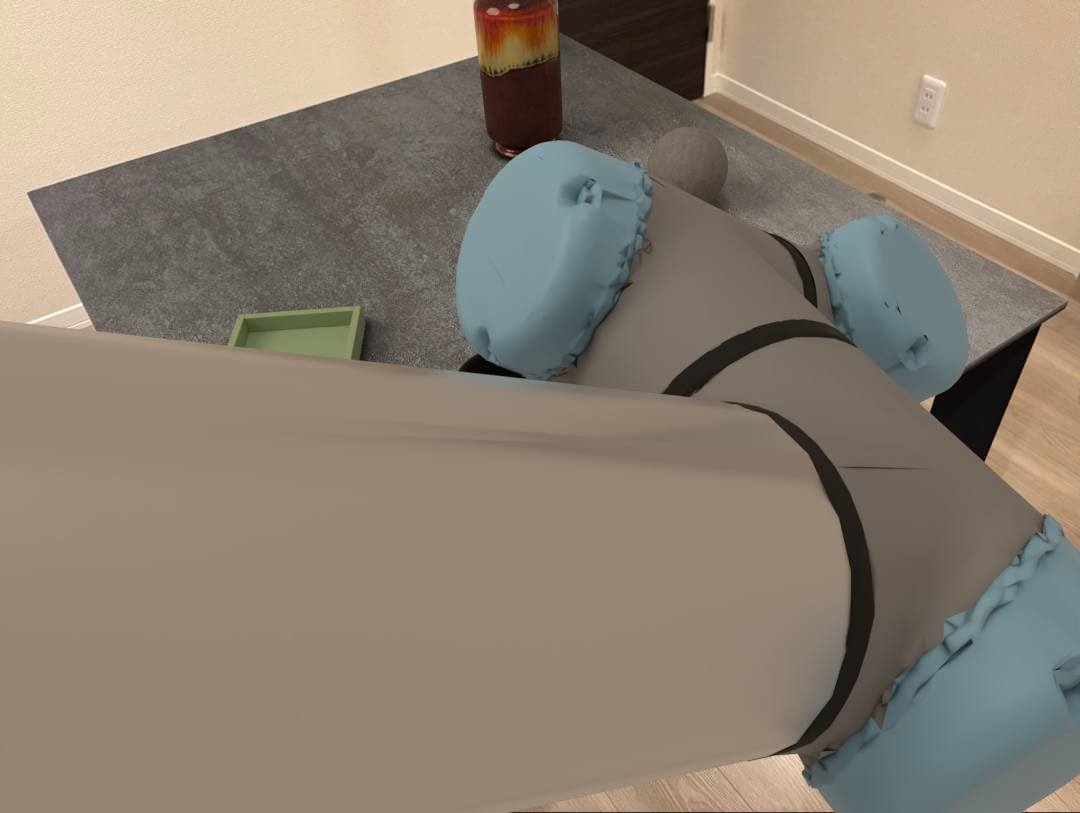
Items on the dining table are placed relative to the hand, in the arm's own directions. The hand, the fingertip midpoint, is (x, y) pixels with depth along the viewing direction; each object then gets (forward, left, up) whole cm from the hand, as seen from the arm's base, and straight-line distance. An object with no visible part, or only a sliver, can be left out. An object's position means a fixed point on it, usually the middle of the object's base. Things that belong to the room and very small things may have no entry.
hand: (425, 529), depth 57 cm
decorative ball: (+28, +59, -12) cm, 66 cm away
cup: (+5, +15, -12) cm, 20 cm away
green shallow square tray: (-18, +32, -12) cm, 38 cm away
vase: (+8, +78, -12) cm, 79 cm away
